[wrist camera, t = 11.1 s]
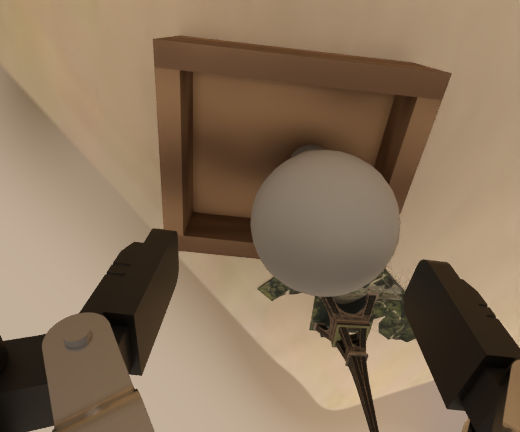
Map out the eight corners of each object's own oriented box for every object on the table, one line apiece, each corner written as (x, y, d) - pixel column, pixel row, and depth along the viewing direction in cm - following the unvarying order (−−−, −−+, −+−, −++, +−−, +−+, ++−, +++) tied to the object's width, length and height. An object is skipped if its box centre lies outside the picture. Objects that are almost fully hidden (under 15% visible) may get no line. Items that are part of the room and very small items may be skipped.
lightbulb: (261, 201, 23) (246, 327, 13) (260, 109, 20) (240, 186, 10) (351, 203, 22) (404, 332, 13) (364, 110, 19) (447, 188, 10)
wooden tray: (179, 35, 19) (153, 39, 15) (412, 62, 20) (451, 73, 15) (183, 211, 25) (164, 249, 21) (361, 229, 26) (379, 271, 21)
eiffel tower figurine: (438, 324, 31) (534, 498, 20) (349, 366, 35) (386, 534, 24) (347, 223, 26) (406, 380, 15) (254, 285, 30) (242, 451, 18)
